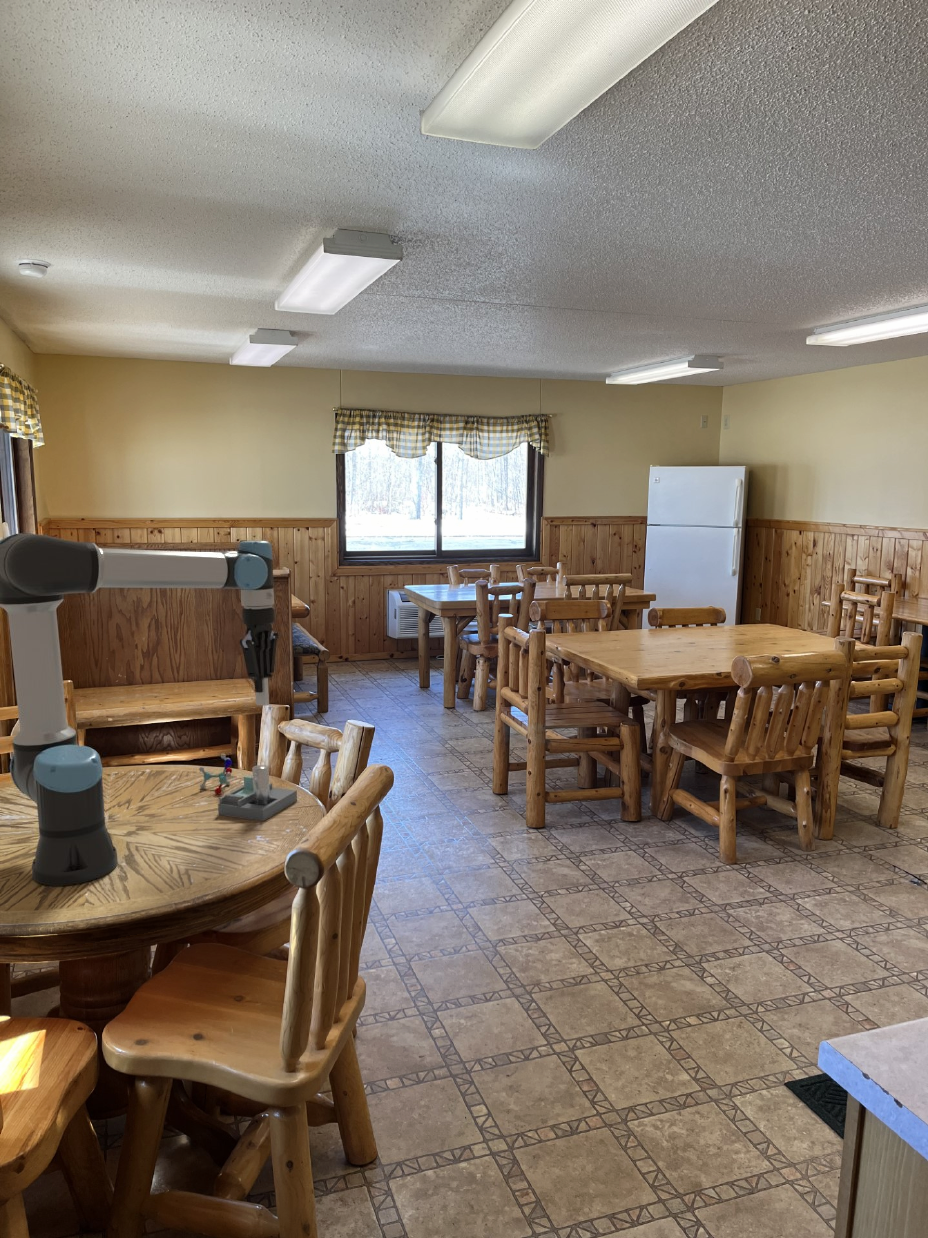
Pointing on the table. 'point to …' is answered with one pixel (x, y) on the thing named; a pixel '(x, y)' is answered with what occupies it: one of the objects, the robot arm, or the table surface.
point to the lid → (247, 786)
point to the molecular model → (221, 776)
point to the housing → (248, 810)
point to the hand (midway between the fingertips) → (262, 704)
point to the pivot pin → (261, 785)
